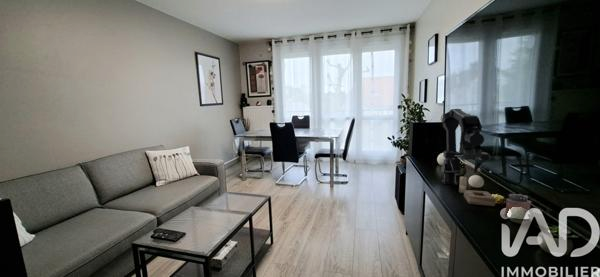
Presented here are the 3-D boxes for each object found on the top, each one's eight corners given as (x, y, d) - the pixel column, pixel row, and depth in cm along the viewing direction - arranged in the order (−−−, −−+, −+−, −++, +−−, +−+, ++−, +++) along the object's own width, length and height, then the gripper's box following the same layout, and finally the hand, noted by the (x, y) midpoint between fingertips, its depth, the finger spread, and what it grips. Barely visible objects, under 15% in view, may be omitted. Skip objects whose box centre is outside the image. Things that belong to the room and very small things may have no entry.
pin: (458, 190, 135) (459, 176, 133) (464, 191, 134) (465, 176, 132) (459, 192, 132) (461, 178, 131) (466, 193, 131) (467, 178, 130)
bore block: (463, 196, 127) (464, 189, 126) (487, 198, 124) (487, 191, 123) (469, 203, 119) (469, 196, 118) (494, 206, 115) (495, 198, 115)
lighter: (526, 217, 105) (529, 194, 103) (530, 220, 101) (533, 197, 100) (503, 214, 107) (505, 192, 106) (506, 218, 104) (509, 195, 103)
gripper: (449, 144, 119) (446, 175, 122) (496, 145, 113) (492, 179, 116) (444, 139, 129) (441, 168, 132) (487, 140, 123) (484, 171, 126)
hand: (464, 171), depth 126 cm, fingers open, 9 cm apart
